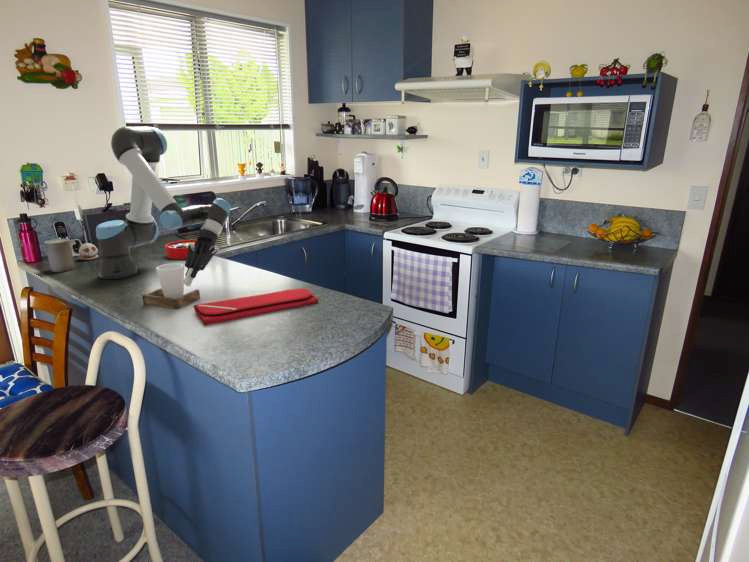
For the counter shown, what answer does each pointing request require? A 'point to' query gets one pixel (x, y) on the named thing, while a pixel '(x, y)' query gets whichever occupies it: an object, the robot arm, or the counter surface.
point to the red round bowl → (178, 249)
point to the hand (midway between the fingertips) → (186, 284)
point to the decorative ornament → (88, 250)
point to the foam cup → (171, 279)
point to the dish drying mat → (253, 305)
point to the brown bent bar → (169, 299)
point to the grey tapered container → (59, 255)
